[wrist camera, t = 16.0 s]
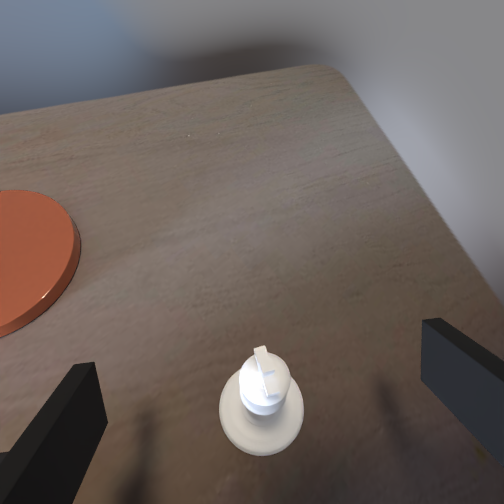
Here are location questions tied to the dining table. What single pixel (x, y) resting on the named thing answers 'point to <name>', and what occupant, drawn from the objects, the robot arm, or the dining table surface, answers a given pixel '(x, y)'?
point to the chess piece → (261, 405)
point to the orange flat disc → (33, 256)
